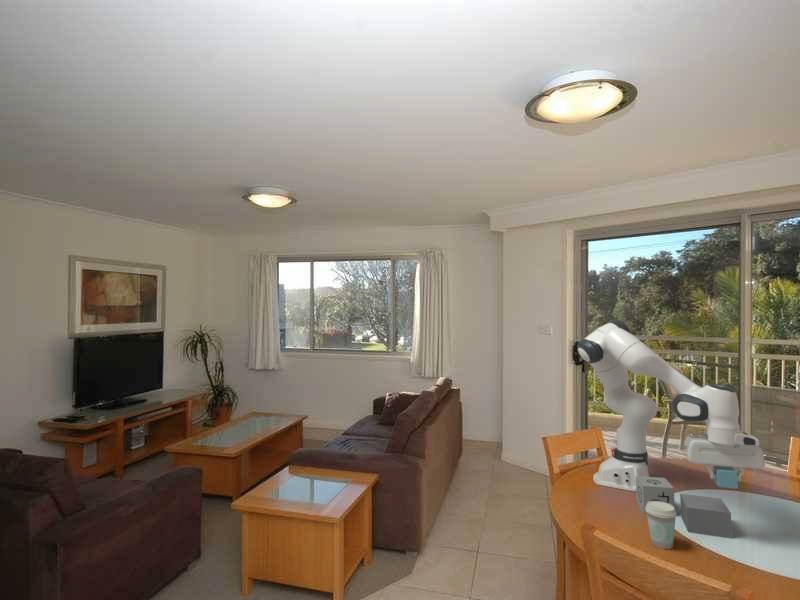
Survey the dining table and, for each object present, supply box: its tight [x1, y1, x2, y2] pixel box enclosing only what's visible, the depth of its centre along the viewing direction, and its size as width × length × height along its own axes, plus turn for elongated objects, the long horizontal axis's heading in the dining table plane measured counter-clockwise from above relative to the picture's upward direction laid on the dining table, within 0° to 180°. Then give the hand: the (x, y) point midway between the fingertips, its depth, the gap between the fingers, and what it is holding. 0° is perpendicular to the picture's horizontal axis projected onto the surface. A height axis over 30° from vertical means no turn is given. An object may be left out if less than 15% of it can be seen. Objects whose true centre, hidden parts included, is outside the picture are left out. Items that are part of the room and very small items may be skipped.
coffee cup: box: [645, 501, 678, 550], centre depth 139 cm, size 8×9×12 cm
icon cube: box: [636, 476, 676, 515], centre depth 164 cm, size 10×10×10 cm
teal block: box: [712, 465, 739, 489], centre depth 141 cm, size 5×5×5 cm
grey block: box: [679, 493, 733, 539], centre depth 150 cm, size 12×12×8 cm
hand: (725, 479), depth 141 cm, fingers closed on teal block, 5 cm apart
